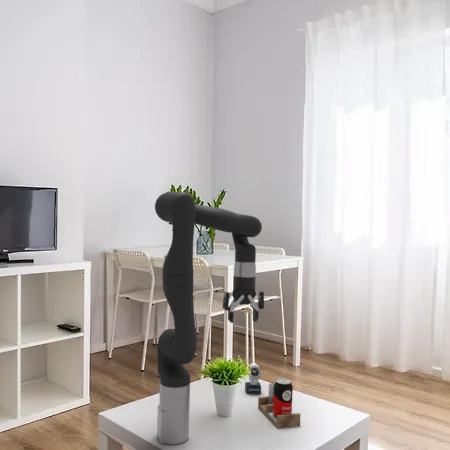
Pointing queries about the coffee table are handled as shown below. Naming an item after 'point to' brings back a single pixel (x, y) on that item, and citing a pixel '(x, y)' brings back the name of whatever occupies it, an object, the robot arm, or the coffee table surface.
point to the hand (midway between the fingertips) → (243, 321)
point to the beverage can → (282, 397)
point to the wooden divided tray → (281, 420)
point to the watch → (253, 380)
